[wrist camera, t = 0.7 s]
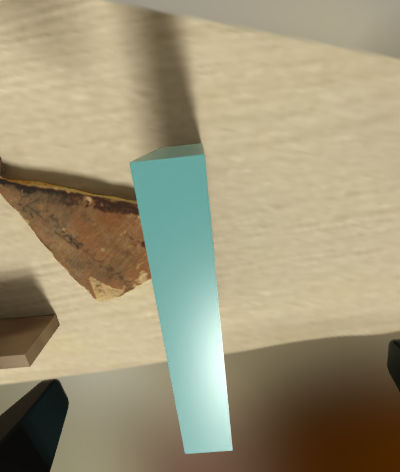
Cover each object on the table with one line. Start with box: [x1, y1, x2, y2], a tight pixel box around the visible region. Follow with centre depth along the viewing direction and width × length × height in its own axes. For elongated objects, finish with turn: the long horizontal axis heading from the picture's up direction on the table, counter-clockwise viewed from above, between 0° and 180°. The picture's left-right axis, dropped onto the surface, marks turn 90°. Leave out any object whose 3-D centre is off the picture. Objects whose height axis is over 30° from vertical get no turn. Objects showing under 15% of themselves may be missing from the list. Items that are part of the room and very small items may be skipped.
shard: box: [0, 177, 151, 302], centre depth 18 cm, size 11×8×2 cm
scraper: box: [130, 143, 232, 454], centre depth 14 cm, size 2×12×10 cm, turn 6°
